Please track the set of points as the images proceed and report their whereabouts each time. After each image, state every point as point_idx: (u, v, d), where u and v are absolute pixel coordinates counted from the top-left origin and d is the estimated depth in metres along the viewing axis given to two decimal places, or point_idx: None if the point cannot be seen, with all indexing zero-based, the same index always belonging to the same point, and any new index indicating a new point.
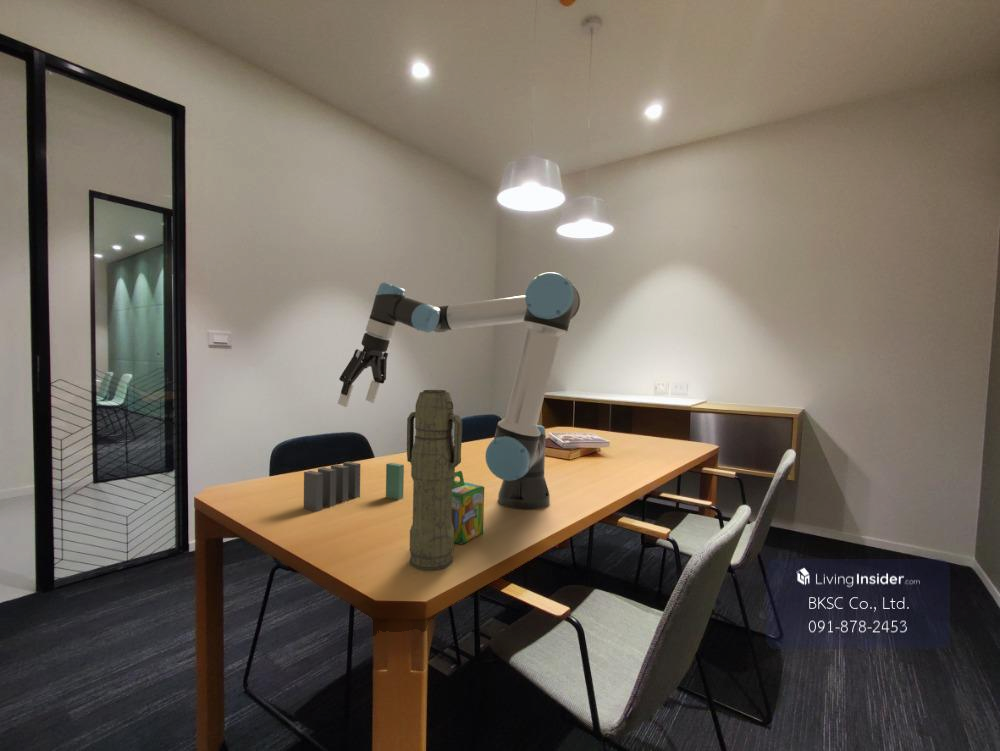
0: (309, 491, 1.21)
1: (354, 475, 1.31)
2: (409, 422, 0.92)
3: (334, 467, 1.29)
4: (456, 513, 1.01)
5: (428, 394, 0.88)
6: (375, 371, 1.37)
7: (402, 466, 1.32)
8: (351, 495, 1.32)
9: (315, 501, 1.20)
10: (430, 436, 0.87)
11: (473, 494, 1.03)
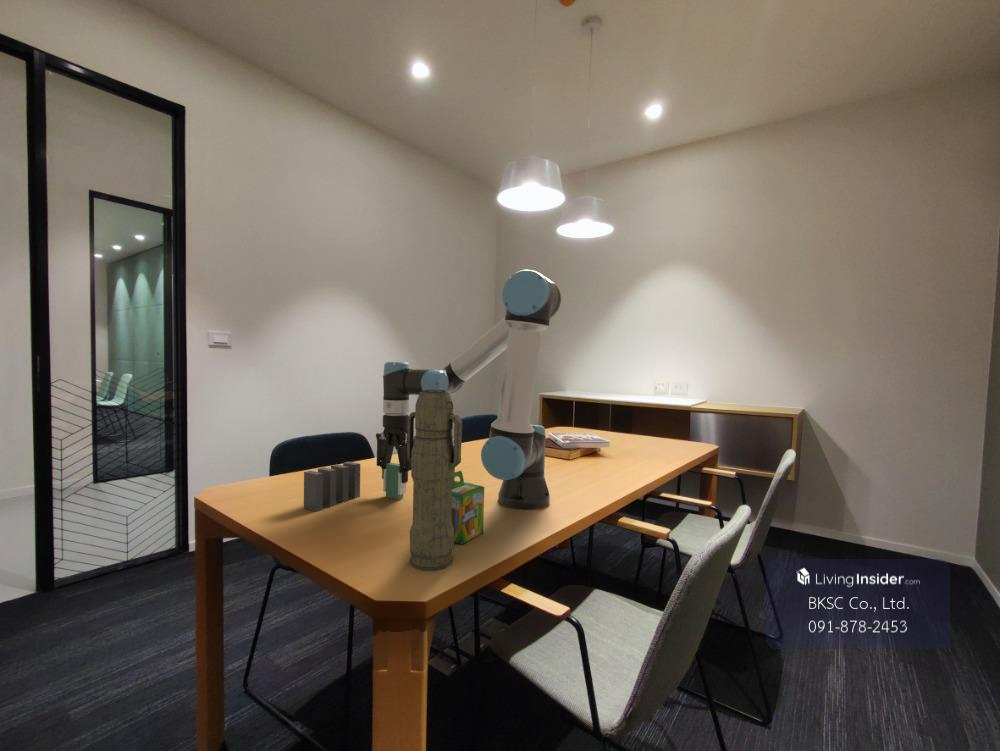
0: (309, 491, 1.21)
1: (354, 475, 1.31)
2: (409, 422, 0.92)
3: (334, 467, 1.29)
4: (456, 513, 1.01)
5: (428, 394, 0.88)
6: (390, 453, 1.34)
7: None
8: (351, 495, 1.32)
9: (315, 501, 1.20)
10: (430, 436, 0.87)
11: (473, 494, 1.03)
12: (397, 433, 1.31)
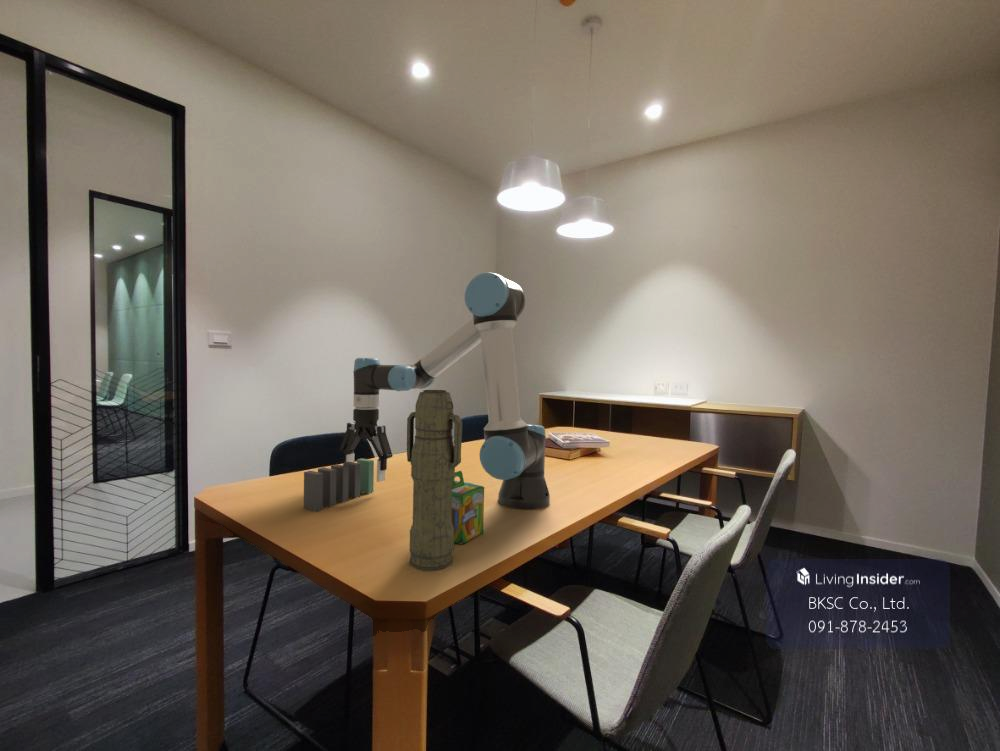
0: (309, 491, 1.21)
1: (354, 475, 1.31)
2: (409, 422, 0.92)
3: (334, 467, 1.29)
4: (456, 513, 1.01)
5: (428, 394, 0.88)
6: (355, 443, 1.40)
7: (372, 461, 1.37)
8: (351, 495, 1.32)
9: (315, 501, 1.20)
10: (430, 436, 0.87)
11: (473, 494, 1.03)
12: (366, 426, 1.36)
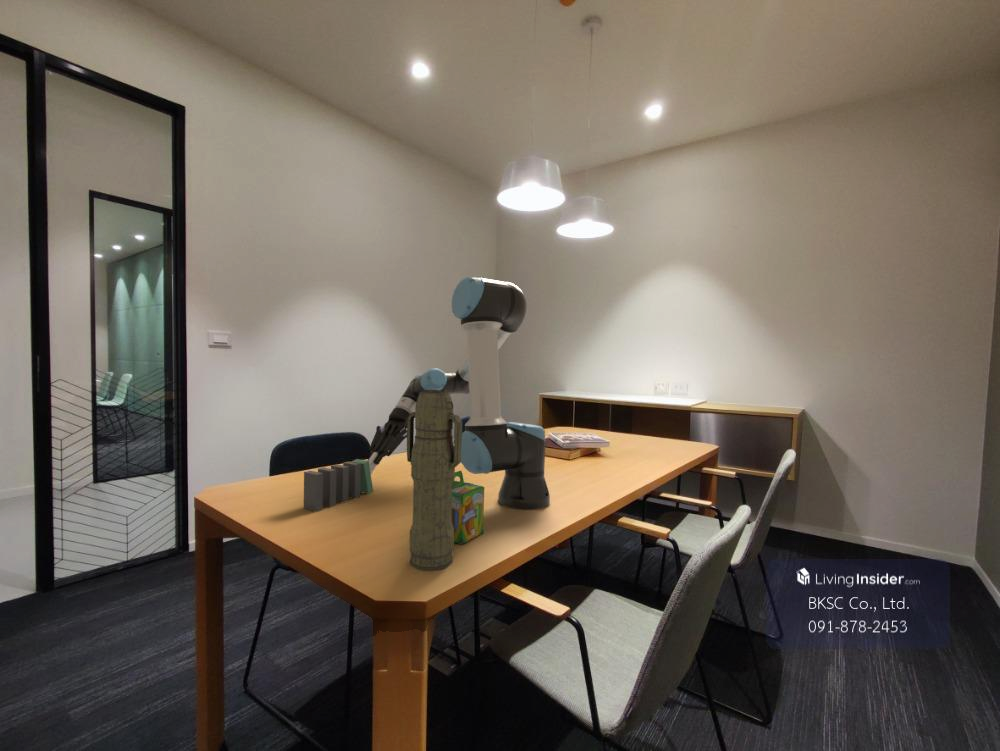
0: (309, 491, 1.21)
1: (354, 475, 1.31)
2: (409, 422, 0.92)
3: (334, 467, 1.29)
4: (456, 513, 1.01)
5: (428, 394, 0.88)
6: (384, 442, 1.46)
7: (367, 462, 1.35)
8: (351, 495, 1.32)
9: (315, 501, 1.20)
10: (430, 436, 0.87)
11: (473, 494, 1.03)
12: (398, 424, 1.48)
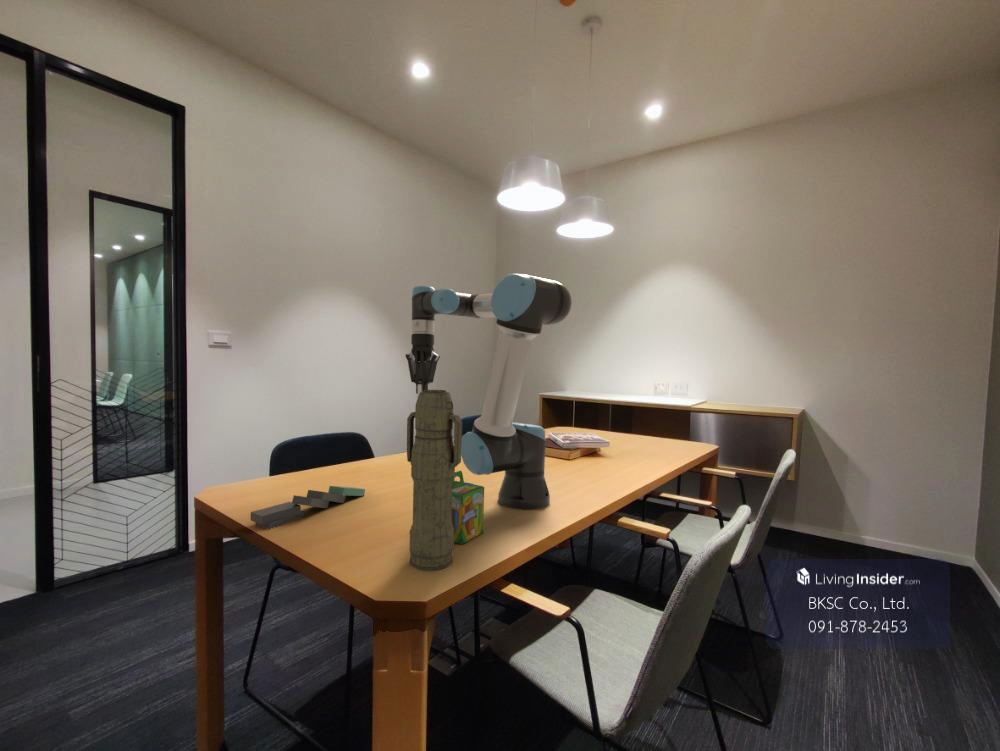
0: None
1: (328, 500, 1.21)
2: (409, 422, 0.92)
3: None
4: (456, 513, 1.01)
5: (428, 394, 0.88)
6: (421, 369, 1.51)
7: (344, 490, 1.26)
8: None
9: None
10: (430, 436, 0.87)
11: (473, 494, 1.03)
12: (425, 350, 1.48)
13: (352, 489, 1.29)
